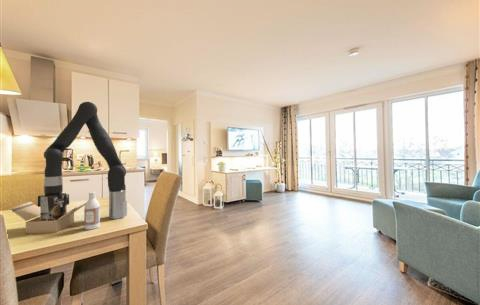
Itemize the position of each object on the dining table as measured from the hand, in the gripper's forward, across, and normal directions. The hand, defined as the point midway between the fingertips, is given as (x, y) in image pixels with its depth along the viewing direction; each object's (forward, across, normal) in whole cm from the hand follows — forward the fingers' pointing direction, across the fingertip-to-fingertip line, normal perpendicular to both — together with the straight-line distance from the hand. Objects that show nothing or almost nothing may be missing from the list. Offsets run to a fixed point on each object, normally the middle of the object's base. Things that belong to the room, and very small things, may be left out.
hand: (53, 213), depth 111 cm
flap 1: (+2, +8, 0) cm, 8 cm away
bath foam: (+8, -21, +3) cm, 23 cm away
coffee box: (+6, 0, 0) cm, 6 cm away
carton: (+8, +1, 0) cm, 8 cm away
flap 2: (+2, -6, 0) cm, 6 cm away
